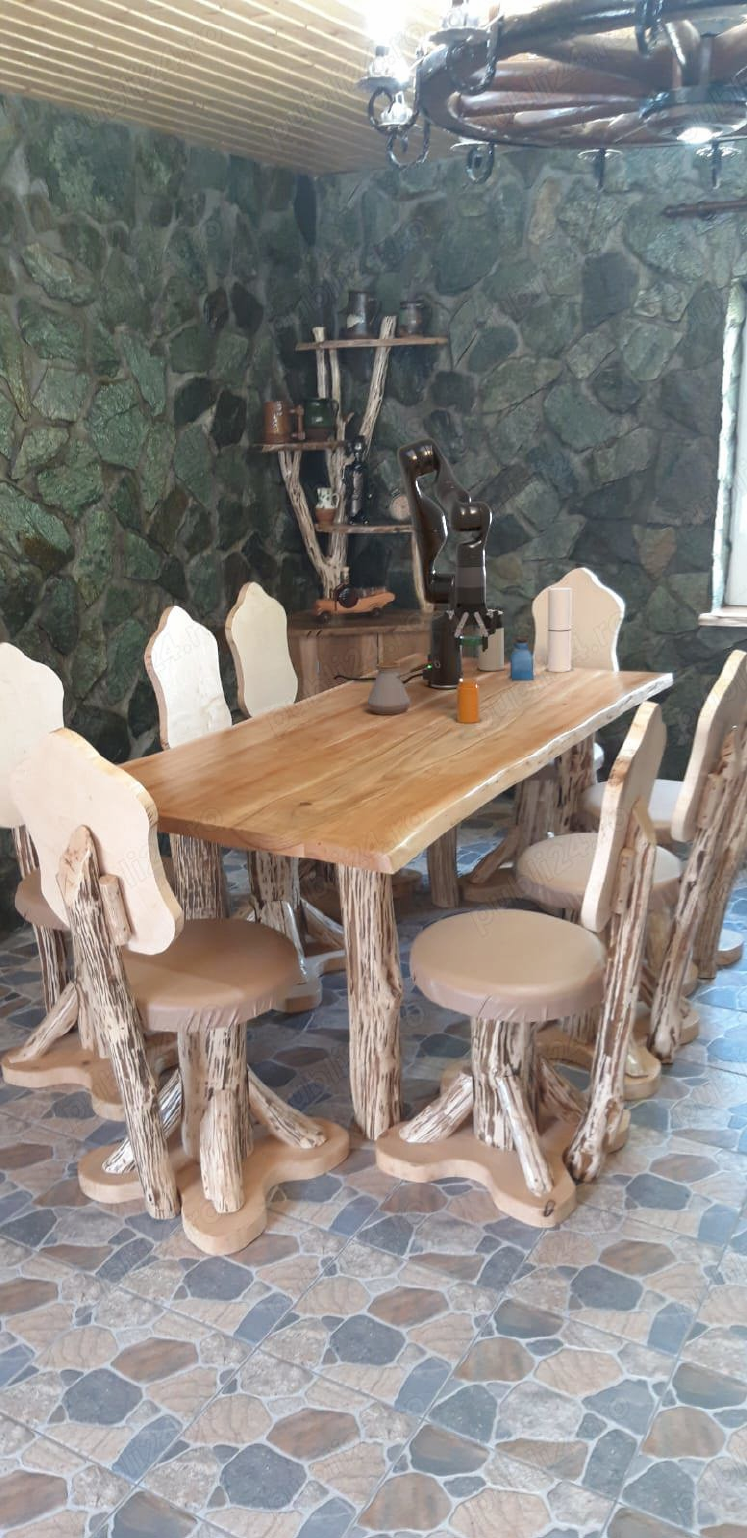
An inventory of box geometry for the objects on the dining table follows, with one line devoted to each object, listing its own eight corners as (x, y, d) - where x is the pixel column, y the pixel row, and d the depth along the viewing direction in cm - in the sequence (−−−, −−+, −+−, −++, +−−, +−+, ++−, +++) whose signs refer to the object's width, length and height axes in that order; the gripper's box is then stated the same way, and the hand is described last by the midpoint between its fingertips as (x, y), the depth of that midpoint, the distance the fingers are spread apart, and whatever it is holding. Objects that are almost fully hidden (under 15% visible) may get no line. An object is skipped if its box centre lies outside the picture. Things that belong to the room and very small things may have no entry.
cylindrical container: (547, 671, 363) (547, 590, 357) (547, 667, 370) (548, 587, 364) (570, 671, 362) (571, 590, 356) (570, 667, 369) (571, 587, 362)
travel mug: (486, 672, 366) (485, 614, 361) (473, 668, 373) (473, 611, 368) (508, 669, 369) (508, 612, 364) (495, 666, 376) (495, 609, 371)
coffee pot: (359, 713, 313) (357, 658, 309) (382, 705, 322) (381, 651, 318) (428, 721, 302) (427, 663, 298) (450, 713, 311) (450, 656, 307)
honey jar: (453, 721, 301) (453, 681, 298) (463, 717, 305) (462, 677, 302) (473, 723, 298) (473, 682, 295) (482, 719, 302) (482, 678, 300)
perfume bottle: (533, 679, 352) (533, 639, 349) (512, 680, 352) (512, 640, 349) (530, 675, 358) (531, 636, 355) (510, 676, 358) (510, 637, 355)
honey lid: (486, 643, 297) (486, 636, 297) (476, 646, 292) (476, 639, 292) (465, 642, 300) (465, 635, 300) (455, 645, 295) (455, 638, 295)
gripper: (441, 586, 289) (443, 654, 294) (500, 585, 289) (501, 653, 293) (441, 583, 296) (442, 649, 301) (498, 581, 296) (498, 648, 300)
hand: (471, 651), depth 297 cm, fingers closed on honey lid, 5 cm apart
